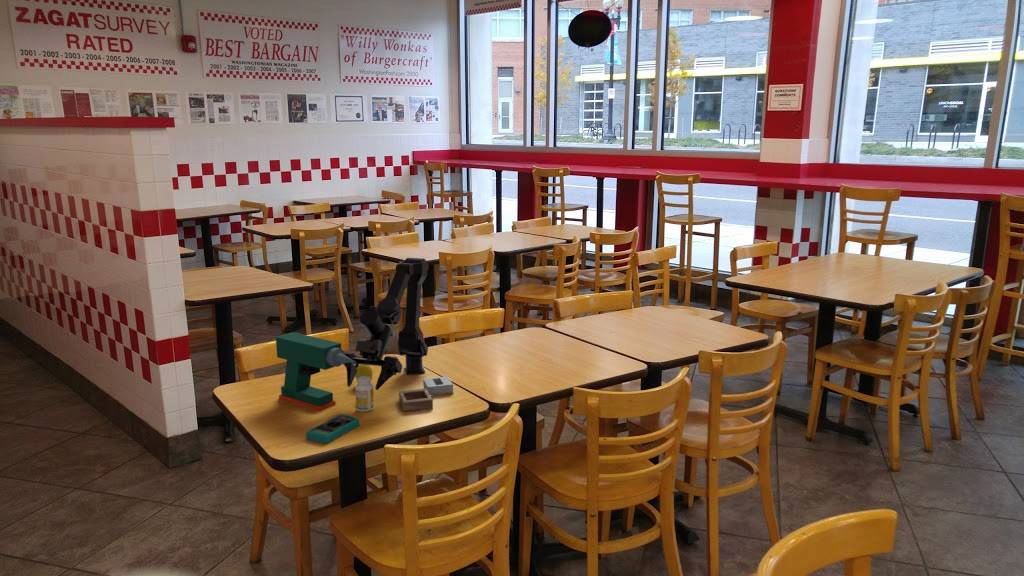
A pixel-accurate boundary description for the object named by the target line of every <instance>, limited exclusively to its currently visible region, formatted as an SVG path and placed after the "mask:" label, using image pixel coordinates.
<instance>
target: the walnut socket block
mask: <svg viewBox="0 0 1024 576" xmlns="http://www.w3.org/2000/svg"><path fill="white" fill-rule="evenodd" d="M398 400H399V403H400V406H401V408H402V410H403V412H404V413H410V412H419V411H426V410H428V409H429V410H433V409H434V405H433V403H434V400H433V398H432V396H430V394H429V392H428V391H427V389H424V388H416V389H409V390H402V391H401V390H400V391H398Z"/></svg>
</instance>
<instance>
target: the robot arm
mask: <svg viewBox="0 0 1024 576" xmlns="http://www.w3.org/2000/svg"><path fill="white" fill-rule="evenodd" d="M429 267H430V266H429V262H428V261H427V260H426V258H424V257H423V258H422V257H406V258H405V260H401V261H399V262H398V263H397V264H396V265H395V272H394V275H393V278H392V279H391V282H390V285H389V288H388V290H387V293H386V296H385V297H384V298H383V299H382V300H380V301H379V302H378V304H377V306H369V308H368V309H366V310H364V311H363V312H362V313H361V314H360V315H359V322H360V324H361V325H362V326H363V327H364V329H365V330H366V332H368V334H369V338H368V339H366V340H356V344H355V346H356V347H355V352H359V355H360V356H361V357H358V356H357V355H356V353H354V352H346V351H344V353H345V356H347V357H349V358H350V359H352V360H354V361H355V362H354V363H343V364H342V365H343V366H344V367H345V368H346V380H347V381H346V384H347V387H348V388H350V387H351V386H352V385H353V382H354V379H356V377H355V375H356V373H357V371H358V370H357V369H356V368H357V367H358V366H359V364H363V365H370V366H374V367H381V368H380V373H379V376H378V378H377V382H376V385H375V390H376V391H378V390H379V389H380V388H381V387H382V386H383V385H384V384H385V383H386V382H387V381H389V379H390V378H392V377H393V376H397V374H401V373H402V371H404V373H405V375H406V374H407V375H408V374H409V375H418V374H417V373H419V374H425V373H426V370H425V369H424V368H423V357H425V356H426V357H427V356H428V352H429V347H428V345H427V344H426V342H425V340H424V333H423V331H422V329H421V328H420V317H421V316H420V314H421V299H422V298H421V297H422V284H423V283H424V281H425V280H426V279H427V277H428V272H429ZM405 291H406V298H405V299H406V300H405V301H406V302H405V317H404V327H402V330H400V331H399V332H398V339H397V347H398V348H397V349H398V352H399V356H405V367H403V364H402V363H401V361H400V360H399V359H398V357H397V356H389V355H387V356H385V357H384V355H385V353H387V351H388V349H387V346H388V343H389V340H390V337H393V336H394V334H393V331H392V328H391V327H390V326H389V325H393V326H394V325H397V324H398V322H400V320H401V315H402V314H401V313H402V309H401V302H402V299H403V297H404V294H405ZM383 357H384V358H383Z"/></svg>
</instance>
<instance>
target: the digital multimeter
mask: <svg viewBox="0 0 1024 576" xmlns="http://www.w3.org/2000/svg"><path fill="white" fill-rule="evenodd" d="M359 426H361V422H360V419H359V418H357V417H355V416H353V415H351V414H350V415H349V414H341V413H340V414H338V415H336V416H334V417H331V418H330V419H329V420H326V421H324V422H323V423H321V424H319V425H317V426H314V427H313V428H310V429H308V430H307V431H306V432H305V436H306V437H305V438H306V439H307V440H309V441H311V442H315V443H316V442H317V443H319V444H325V445H326V444H328V443H331V442H332V441H334V440H335V439H337V438H339V437H341V436H343V435H344V433H345V434H347V433H348V432H350V431H352V430H354V429H356V428H358V427H359Z"/></svg>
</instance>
